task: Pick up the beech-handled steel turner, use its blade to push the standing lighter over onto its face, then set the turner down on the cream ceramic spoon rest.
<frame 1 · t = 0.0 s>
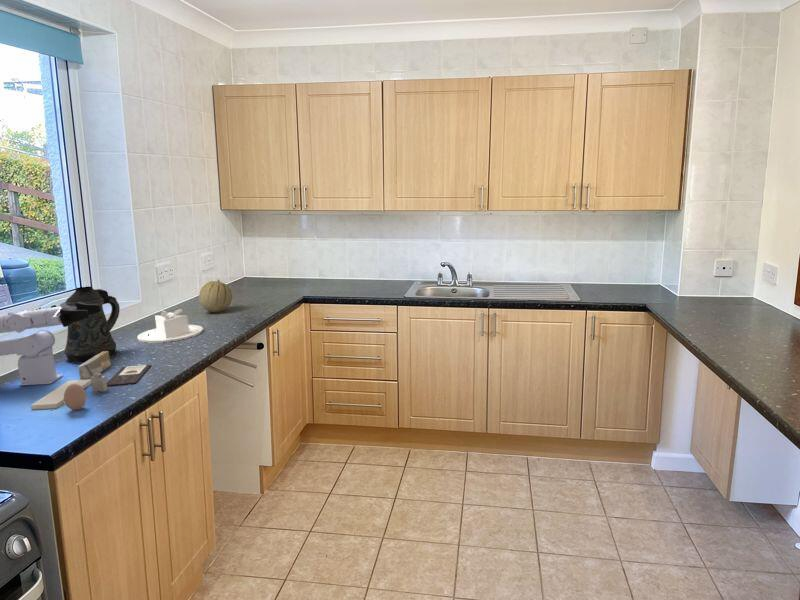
hand: (94, 310, 181), 22 cm above the worktop, tool horizontal, fingers open, 7 cm apart
cantaloupe: (217, 312, 273), on the worktop
lighter: (96, 390, 174), on the worktop
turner: (100, 370, 193), on the worktop
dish: (171, 335, 235), on the worktop
spoon rest: (63, 395, 170), on the worktop
egg: (77, 410, 159), on the worktop
beer stein: (95, 355, 211), on the worktop
chocolate bar: (129, 377, 185), on the worktop
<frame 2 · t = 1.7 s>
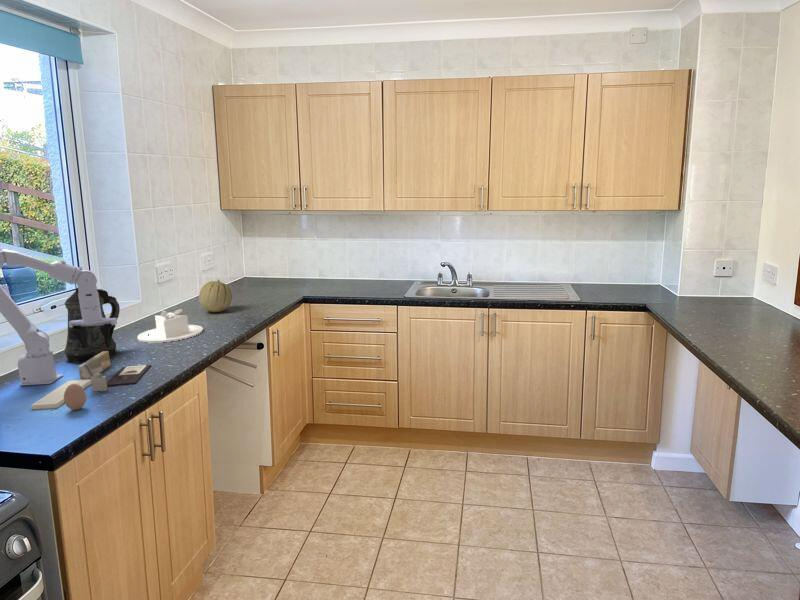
hand: (97, 347, 191), 8 cm above the worktop, tool pointing down, fingers open, 7 cm apart
nothing on the worktop moved.
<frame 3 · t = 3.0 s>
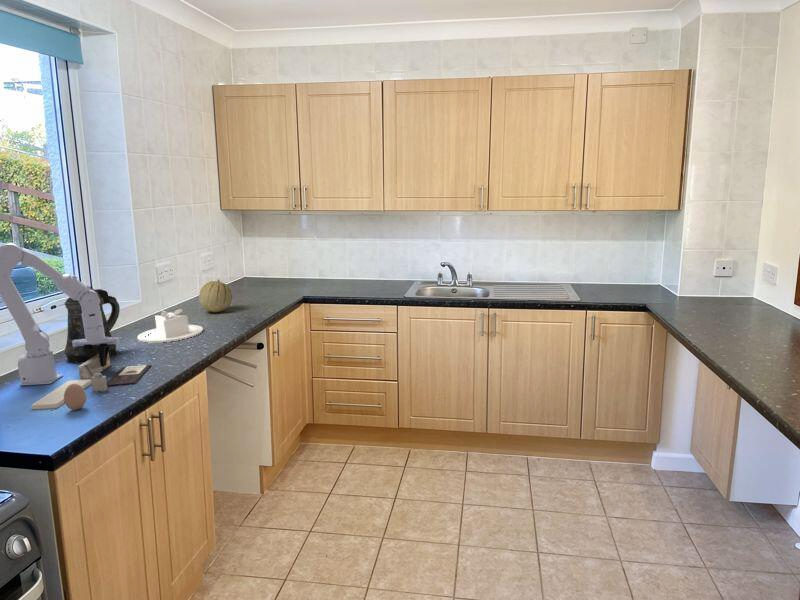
hand: (100, 366, 193), 1 cm above the worktop, tool pointing down, fingers closed on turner, 2 cm apart
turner: (100, 370, 193), on the worktop, touching gripper
everything else where it was.
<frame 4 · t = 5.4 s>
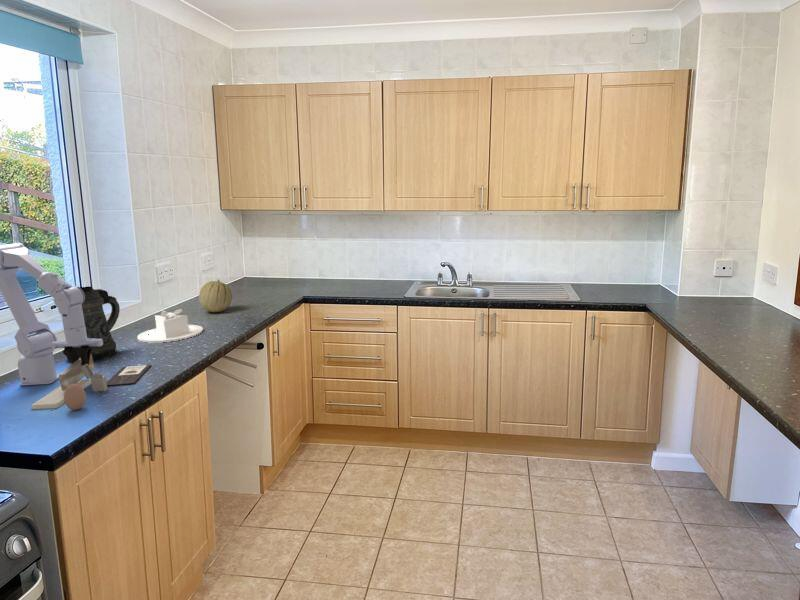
hand: (81, 369, 179), 5 cm above the worktop, tool pointing down, fingers closed on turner, 2 cm apart
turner: (83, 374, 180), point 3 cm above the worktop, touching gripper
everything else where it was.
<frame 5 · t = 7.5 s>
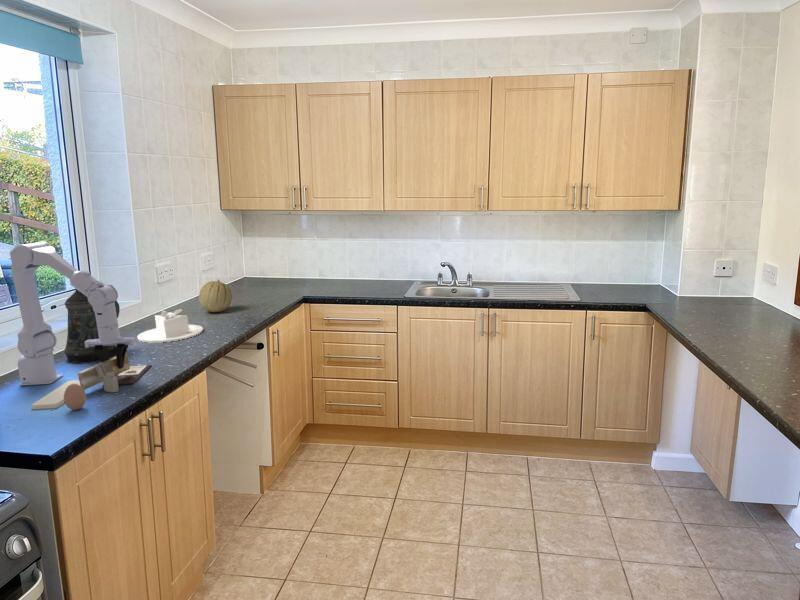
hand: (114, 368, 179), 4 cm above the worktop, tool pointing down, fingers closed on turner, 4 cm apart
lighter: (108, 390, 173), on the worktop, touching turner
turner: (114, 374, 180), point 2 cm above the worktop, touching gripper, lighter
everything else where it was.
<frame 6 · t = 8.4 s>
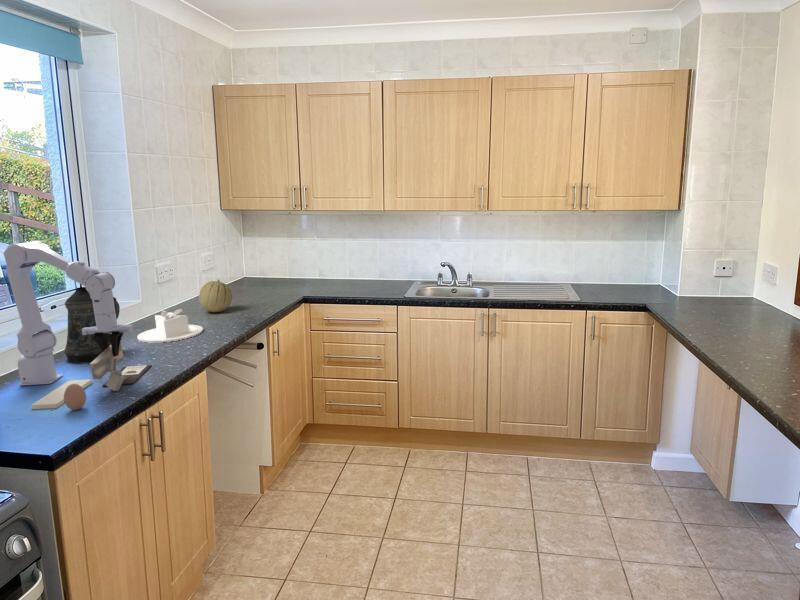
hand: (111, 355, 179), 8 cm above the worktop, tool pointing down, fingers closed on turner
lighter: (109, 386, 173), point 1 cm above the worktop
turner: (113, 362, 179), point 6 cm above the worktop, tilted 7°, touching gripper
everything else where it was.
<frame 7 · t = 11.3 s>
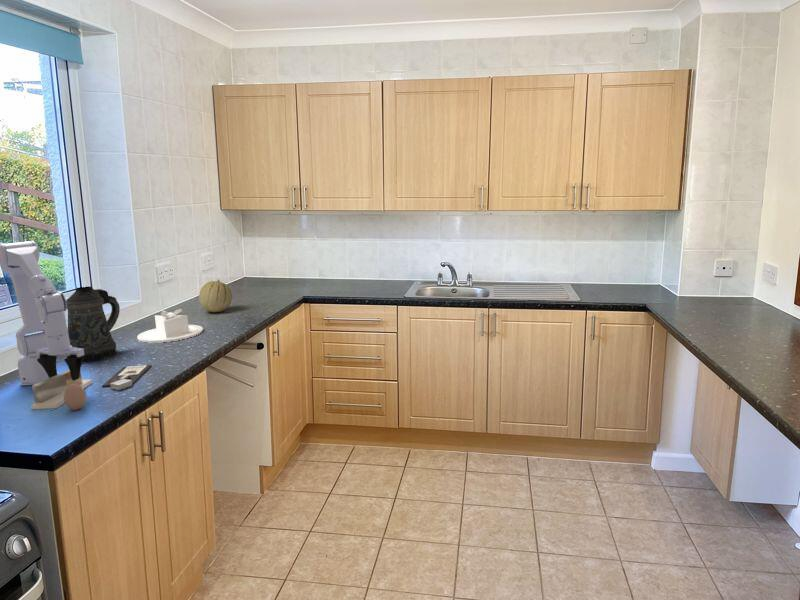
hand: (64, 379, 171), 4 cm above the worktop, tool pointing down, fingers open, 7 cm apart
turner: (67, 388, 172), point 1 cm above the worktop, touching spoon rest
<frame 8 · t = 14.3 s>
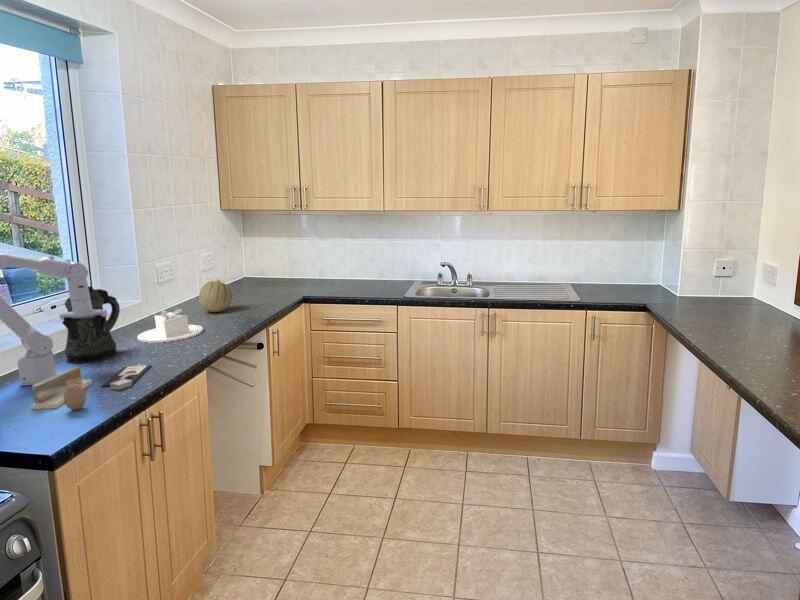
hand: (88, 338, 193), 10 cm above the worktop, tool pointing down, fingers open, 7 cm apart
at the end: lighter tilted 90°; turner inside the target area on the spoon rest (1.3 cm from its centre), point 1.2 cm above the spoon rest's base; the gripper is holding nothing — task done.
